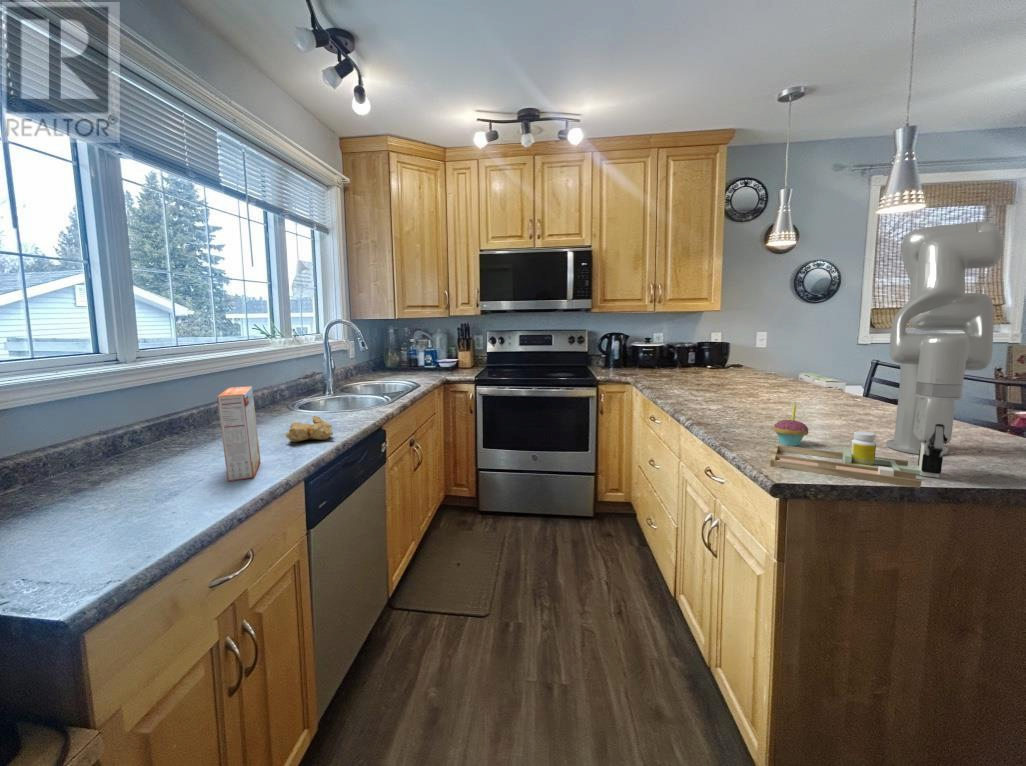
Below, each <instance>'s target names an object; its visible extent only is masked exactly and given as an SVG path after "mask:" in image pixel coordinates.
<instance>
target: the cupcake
mask: <svg viewBox="0 0 1026 766" xmlns="http://www.w3.org/2000/svg"><path fill="white" fill-rule="evenodd" d="M796 410H797V405H796V404H794V405H792V414H791V419H782V420H780V421H778V422H776V423H775V424H774V425H773V431H774V433H776V435H777V437H778V440H779V443H780V445H782V444H784V445H783V446H786V445H789V446H790V447H798V446H800V444H801V442H802V440H803V438H804V436H808V434H809V427H808V425H806V424H805V423H803V422H801V421H799V420H795V417H796Z"/></svg>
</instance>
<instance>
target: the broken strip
mask: <svg viewBox="0 0 1026 766" xmlns="http://www.w3.org/2000/svg"><path fill="white" fill-rule="evenodd" d="M780 461H784V462H791V463H798V464H806V465H813V466H818V463H814V462H806V461H799V460H791V459H784V458H780ZM877 467H878V471H873V470H866V469H858V468H851V467H843V466H836V469H842V470H849V471H857V472H864V473H871V474H878V475H886V476H894V470H893V468H890V466H884V465H881V466H880V465H878V466H877Z"/></svg>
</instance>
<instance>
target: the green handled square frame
mask: <svg viewBox="0 0 1026 766" xmlns="http://www.w3.org/2000/svg"><path fill="white" fill-rule="evenodd" d="M931 446H933V445H930V447H931ZM925 448H926V443H924V442H922V443H921V451H920V460H919V466H917V467H916V466H909V465H908V466H902V465H897V464H896V462H895V461H894V460H886V459H878V458H875V461H874V466H870V465H862V464H854V463H851V460H852V456H851V453H850V452H851V448H849V447H843V448H842V453H843V457H842V459H841V460H842V463H845V464H853V465H861V466H868V467H876V468H878V466H877V465H879V466H880V465H881V466H886V467H890V468H893V470H899V471H906V472H914V473H916V475H918V476H919V475H920V476H924V477H931V478H940V474H935V473H927V472H923V471H922V470H921V468H922V459H923V454H925Z"/></svg>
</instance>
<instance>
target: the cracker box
mask: <svg viewBox="0 0 1026 766" xmlns="http://www.w3.org/2000/svg"><path fill="white" fill-rule="evenodd" d="M216 400H217V407H218V414H219V415H218V416H219V421H220V424H219V425H220V431H221V437H222V438H221V440H222V446H223V447H222V448H223V452H224V453H223V454H224V462H225V470H226V478H227V482H235V481H241V480H246V479H247V480H248V479H254V478H255V477H256V473H257V471H258V468H259V466H260V464H261V453H260V444H259V436H258V426H257V417H256V410H255V408H256V406H255V400H254V390H253V386H232V387H229V388H228V387H227V388H226V389H225V390H224V391H223V392H221V393H220V394H219V395H217V397H216Z"/></svg>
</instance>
